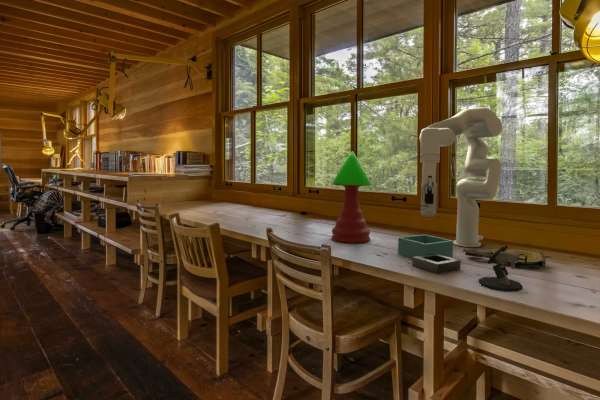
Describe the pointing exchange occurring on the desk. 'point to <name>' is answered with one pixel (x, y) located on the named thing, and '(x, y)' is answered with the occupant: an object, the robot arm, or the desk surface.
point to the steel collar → (436, 263)
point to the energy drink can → (428, 209)
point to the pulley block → (532, 258)
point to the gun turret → (500, 270)
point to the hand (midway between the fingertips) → (428, 202)
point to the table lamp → (351, 203)
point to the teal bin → (424, 246)
